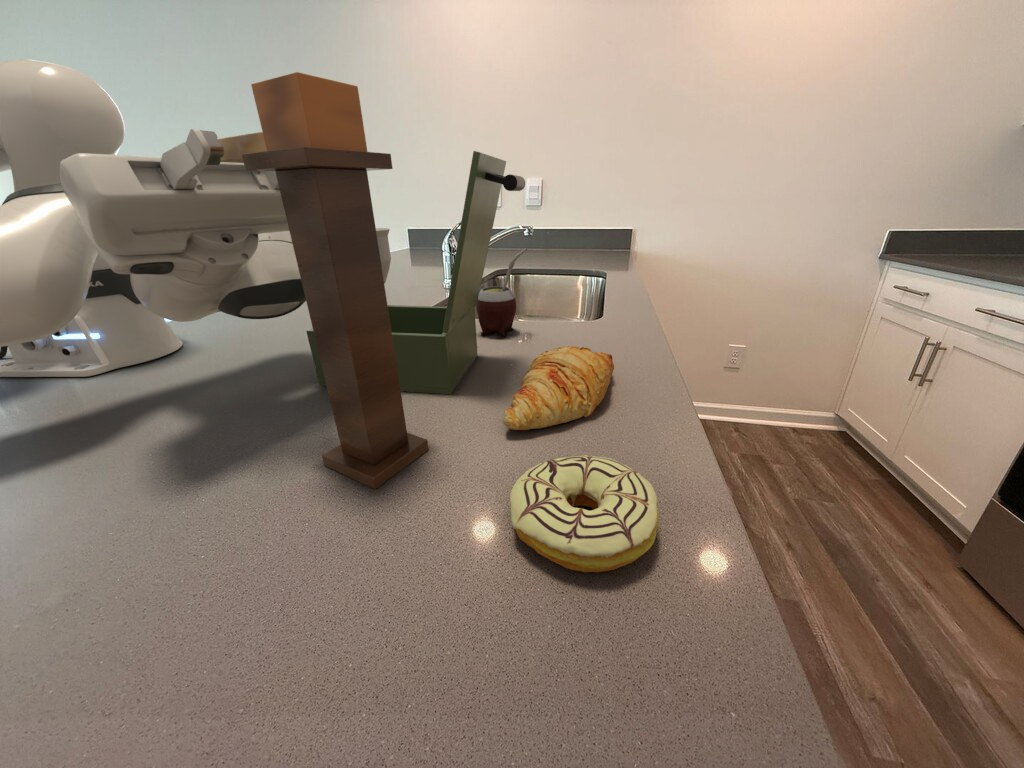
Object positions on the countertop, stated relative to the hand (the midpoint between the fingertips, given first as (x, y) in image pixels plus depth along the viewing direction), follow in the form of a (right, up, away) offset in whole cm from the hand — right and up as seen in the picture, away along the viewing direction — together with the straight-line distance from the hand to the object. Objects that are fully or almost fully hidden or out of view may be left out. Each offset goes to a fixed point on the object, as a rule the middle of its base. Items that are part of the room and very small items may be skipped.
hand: (248, 142), depth 32 cm
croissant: (+27, -21, +18) cm, 39 cm away
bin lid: (+16, -2, +18) cm, 24 cm away
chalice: (-3, -10, +44) cm, 45 cm away
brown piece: (+3, -2, -1) cm, 4 cm away
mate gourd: (+19, -10, +42) cm, 47 cm away
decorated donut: (+26, -30, -1) cm, 40 cm away
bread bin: (+5, -17, +27) cm, 33 cm away
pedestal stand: (+8, -26, +8) cm, 28 cm away
